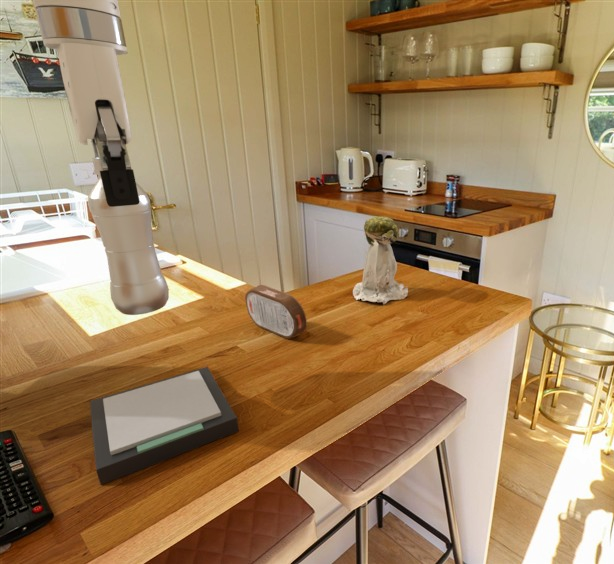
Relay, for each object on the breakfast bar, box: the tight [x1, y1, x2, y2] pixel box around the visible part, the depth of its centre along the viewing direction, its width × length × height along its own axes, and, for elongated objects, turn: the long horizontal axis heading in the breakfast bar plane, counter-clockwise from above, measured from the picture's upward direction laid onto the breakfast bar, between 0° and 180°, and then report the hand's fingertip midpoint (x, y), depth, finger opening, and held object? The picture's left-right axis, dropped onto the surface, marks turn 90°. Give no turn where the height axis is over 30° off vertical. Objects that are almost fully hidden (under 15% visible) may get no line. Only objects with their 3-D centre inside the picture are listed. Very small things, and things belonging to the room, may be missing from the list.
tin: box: [244, 284, 307, 340], centre depth 80 cm, size 15×3×8 cm, turn 54°
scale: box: [89, 366, 239, 486], centre depth 56 cm, size 15×15×3 cm
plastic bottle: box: [87, 157, 170, 316], centre depth 54 cm, size 6×7×20 cm
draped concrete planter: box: [352, 215, 409, 305], centre depth 97 cm, size 12×13×18 cm
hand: (120, 199), depth 52 cm, fingers closed on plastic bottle, 6 cm apart
